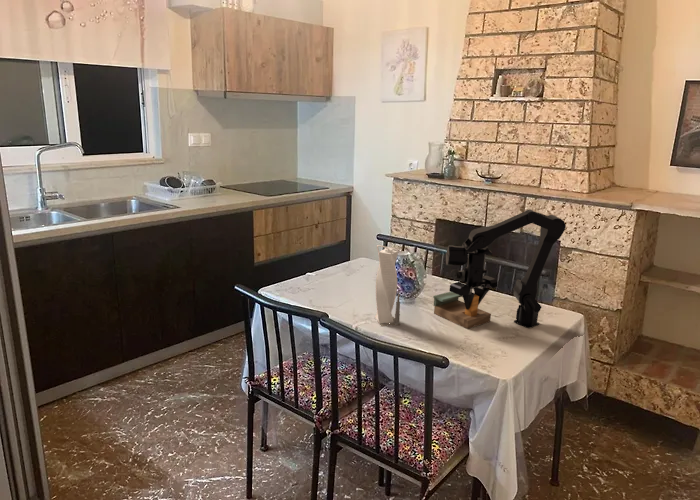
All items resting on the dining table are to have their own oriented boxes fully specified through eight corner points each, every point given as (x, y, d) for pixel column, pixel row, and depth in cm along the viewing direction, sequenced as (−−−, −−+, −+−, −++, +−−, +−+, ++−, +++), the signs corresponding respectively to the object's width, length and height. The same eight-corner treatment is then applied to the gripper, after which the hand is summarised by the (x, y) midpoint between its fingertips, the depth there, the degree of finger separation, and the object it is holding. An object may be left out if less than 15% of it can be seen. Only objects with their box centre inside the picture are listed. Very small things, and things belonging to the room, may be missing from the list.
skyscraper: (377, 327, 179) (381, 248, 171) (369, 318, 186) (373, 242, 179) (400, 325, 181) (405, 247, 173) (392, 316, 188) (396, 241, 181)
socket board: (491, 321, 187) (493, 303, 185) (466, 329, 179) (468, 310, 177) (456, 306, 199) (458, 289, 198) (432, 313, 192) (433, 295, 190)
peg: (476, 322, 186) (479, 296, 183) (470, 324, 184) (473, 297, 181) (469, 319, 188) (472, 293, 185) (463, 321, 186) (466, 294, 184)
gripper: (476, 256, 192) (471, 296, 196) (439, 263, 181) (436, 305, 186) (500, 264, 183) (495, 306, 188) (464, 272, 173) (459, 316, 177)
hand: (471, 308), depth 185 cm, fingers open, 4 cm apart
